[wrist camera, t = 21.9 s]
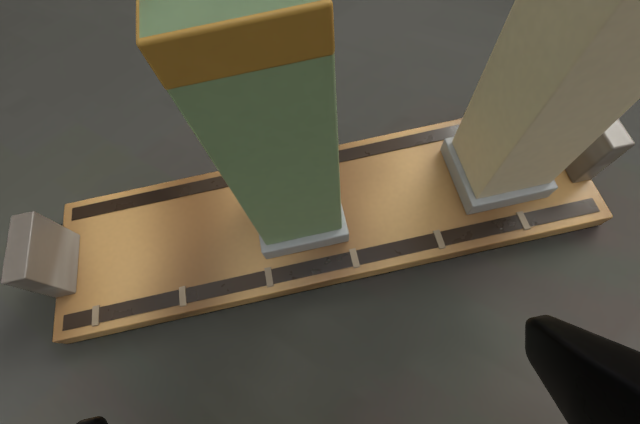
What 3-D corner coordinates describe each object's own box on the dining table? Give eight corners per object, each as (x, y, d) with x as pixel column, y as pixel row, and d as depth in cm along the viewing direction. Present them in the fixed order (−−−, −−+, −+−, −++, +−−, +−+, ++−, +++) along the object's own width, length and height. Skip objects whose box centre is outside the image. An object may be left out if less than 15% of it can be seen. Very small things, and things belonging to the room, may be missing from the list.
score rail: (67, 344, 17) (-9, 336, 14) (77, 211, 20) (16, 175, 16) (600, 225, 18) (666, 186, 14) (536, 112, 21) (577, 55, 17)
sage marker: (265, 260, 17) (119, 58, 6) (255, 189, 19) (122, -72, 8) (349, 241, 17) (351, 10, 6) (331, 172, 19) (308, -110, 8)
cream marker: (466, 215, 17) (670, -57, 6) (439, 149, 19) (565, -162, 8) (548, 197, 17) (889, -103, 6) (514, 133, 19) (742, -198, 8)
